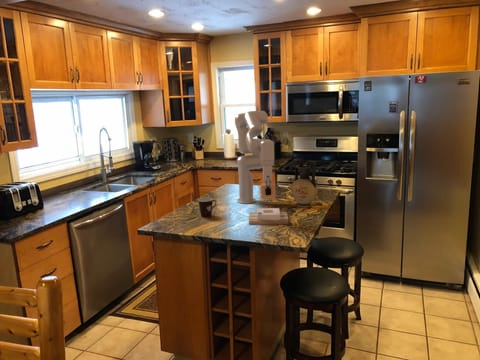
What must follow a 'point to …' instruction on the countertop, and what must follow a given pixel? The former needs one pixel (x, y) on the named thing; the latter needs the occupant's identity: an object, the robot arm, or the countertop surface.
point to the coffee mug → (206, 206)
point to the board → (254, 220)
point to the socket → (268, 214)
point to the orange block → (263, 186)
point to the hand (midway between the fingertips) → (268, 193)
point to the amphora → (304, 183)
